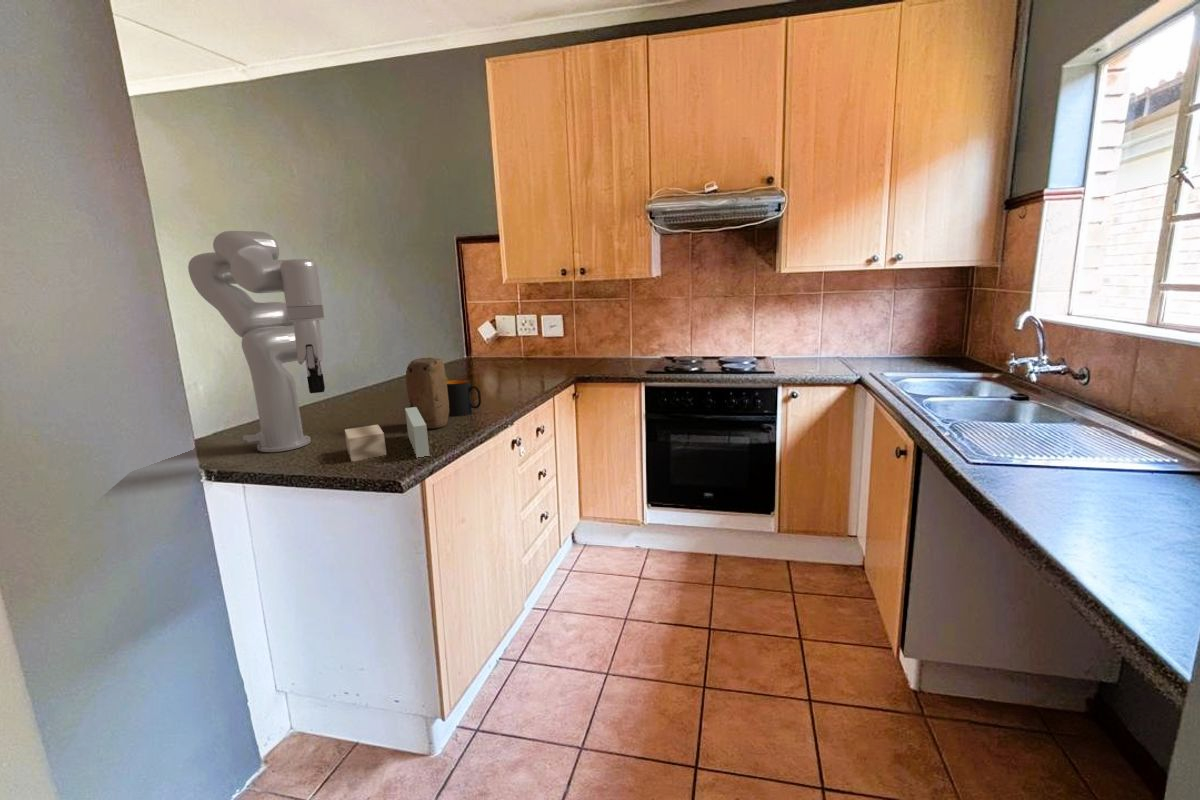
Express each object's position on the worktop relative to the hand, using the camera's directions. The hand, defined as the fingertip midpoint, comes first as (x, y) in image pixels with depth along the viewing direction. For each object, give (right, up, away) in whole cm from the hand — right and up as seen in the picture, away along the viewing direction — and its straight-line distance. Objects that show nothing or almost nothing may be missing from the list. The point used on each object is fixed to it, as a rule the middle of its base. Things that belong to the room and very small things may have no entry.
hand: (317, 390), depth 135 cm
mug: (+24, -7, +46) cm, 52 cm away
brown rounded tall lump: (+18, -10, +31) cm, 37 cm away
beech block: (+9, -16, +7) cm, 20 cm away
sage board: (+20, -14, +12) cm, 27 cm away
